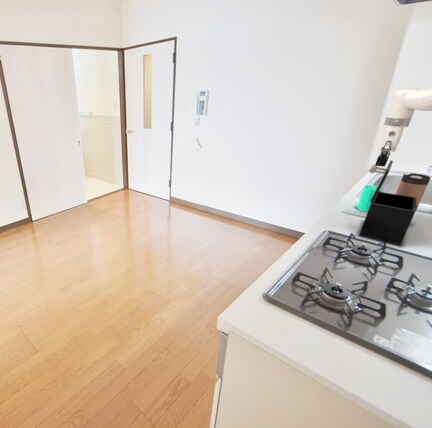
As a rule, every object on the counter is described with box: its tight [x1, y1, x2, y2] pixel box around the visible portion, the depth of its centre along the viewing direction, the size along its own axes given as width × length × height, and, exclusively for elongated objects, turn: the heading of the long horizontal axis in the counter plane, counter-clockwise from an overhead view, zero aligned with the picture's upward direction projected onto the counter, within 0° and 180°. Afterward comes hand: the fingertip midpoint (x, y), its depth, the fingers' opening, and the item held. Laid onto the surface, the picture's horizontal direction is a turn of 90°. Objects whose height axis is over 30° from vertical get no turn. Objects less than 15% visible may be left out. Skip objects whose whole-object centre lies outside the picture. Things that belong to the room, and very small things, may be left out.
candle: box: [356, 184, 383, 212], centre depth 127 cm, size 6×6×12 cm
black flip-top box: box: [358, 191, 417, 247], centre depth 107 cm, size 12×17×14 cm
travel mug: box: [395, 172, 431, 210], centre depth 113 cm, size 8×8×20 cm
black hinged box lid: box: [368, 160, 394, 203], centre depth 106 cm, size 12×17×5 cm
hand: (381, 163), depth 121 cm, fingers open, 9 cm apart
